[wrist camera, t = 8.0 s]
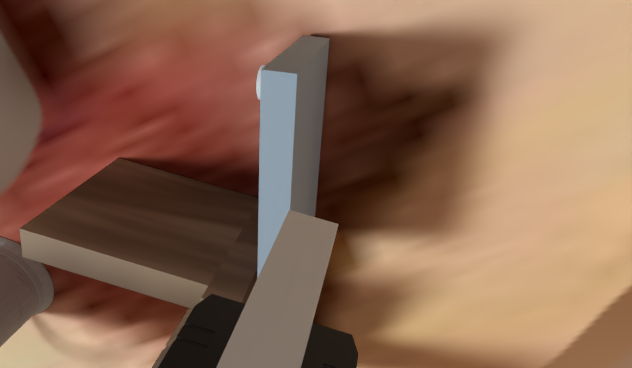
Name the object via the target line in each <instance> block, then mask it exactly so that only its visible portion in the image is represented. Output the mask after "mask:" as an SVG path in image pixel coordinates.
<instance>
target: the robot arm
mask: <svg viewBox="0 0 632 368" xmlns="http://www.w3.org/2000/svg"><path fill="white" fill-rule="evenodd" d="M338 225H339V224H337V223H333V222H330V221H326V220H323V219H319V218H316V217H312V216H309V215H305V214H302V213H299V212H295V211H292V210H289V211H288V214H287V216H286V218H285V220H284V222H283V224H282V227H281V229H280V231H279V233H278V235H277V237H276V240H275V242H274V244H273V246H272V248H271V250H270V253H269V255H268V257H267V259H266V261H265V263H264V266H263V268H262V270H261V272H260V274H259V276H258V278H257V281H256V283H255V285H254V287H253V289H252V291H251V294H250V296H249V298H248V300H247V302H246V304H244V303H241V302H237V301H234V300H231V299H228V298H224V297H221V296H218V295H214V294H211V295H209V296H208V297H206V298H205V299H204V300H202V301H201V302H199V303H198V304H197V305H195V306H194V308H193V310H192V312H191V313H190V315H189V317H188V318H187V320H186V322H185V324H184V326H183V327H182V328H181V330H180V332H179V333H178V335H177V337H176V340H174V342H173V343H172V345H171V347H170V348H169V350H168V352H167V353H166V355H165V357H164V358H163V360H162V362H161V363H160V365H159V367H158V368H356V367H357V359H358V352H357V349H356V346H355V343H354V339H353V336H352V335H351V334H348V333H344V332H341V331H338V330H334V329H331V328H328V327H324V326H321V325H318V324H315V323H313V320H314V316H315V312H316V308H317V304H318V301H319V297H320V293H321V289H322V285H323V282H324V278H325V274H326V270H327V267H328V263H329V259H330V255H331V251H332V248H333V244H334V240H335V236H336V232H337V229H338Z"/></svg>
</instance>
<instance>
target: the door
mask: <svg viewBox="0 0 632 368" xmlns="http://www.w3.org/2000/svg"><path fill="white" fill-rule="evenodd" d="M329 41H330V38H323V37H314V36H304V35H303V36H302V37H301V38H299V39H298V40H297V41H296V42H295V43H293V44H292V45H291V46H290V47H288V48H287V49H286V50H285V51H283V52H282V53H281V54H280V55H278V56H277V57H276V58H275V59H273V60H272V61H271V62H270V63H268V64H267V65H262V66H261V67H260V69H259V72H258V76H257V84H256V91H257V97H258V99H260V150H259V209H258V267H257V278H258V276H259V274H260V272H261V270H262V268H263V266H264V263H265V261H266V259H267V257H268V255H269V253H270V250H271V248H272V246H273V244H274V242H275V240H276V237H277V235H278V233H279V231H280V229H281V227H282V224H283V222H284V220H285V218H286V216H287V214H288V211H289V210H292V211H295V212H299V213H302V214H305V215H309V216H312V217H315V213H316V200H317V188H318V176H319V164H320V151H321V139H322V127H323V114H324V102H325V90H326V78H327V65H328V53H329Z"/></svg>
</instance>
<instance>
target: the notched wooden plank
mask: <svg viewBox="0 0 632 368" xmlns="http://www.w3.org/2000/svg"><path fill="white" fill-rule="evenodd" d="M258 209H259V198H256V197H253V196H249V195H246V194H242V193H239V192H235V191H232V190H229V189H225V188H222V187H218V186H215V185H211V184H208V183H204V182H201V181H197V180H194V179H191V178H187V177H184V176H180V175H177V174H173V173H170V172H166V171H163V170H159V169H156V168H153V167H149V166H146V165H142V164H139V163H135V162H132V161H128V160H125V159H121V158H118V159H116V160H115V161H113V162H112V163H111V164H109V165H108V166H106V167H105V168H104V169H102V170H101V171H99V172H98V173H97V174H95V175H94V176H92V177H91V178H90V179H88V180H87V181H85V182H84V183H83V184H81V185H80V186H78V187H77V188H76V189H74V190H73V191H71V192H70V193H69V194H67V195H66V196H64V197H63V198H62V199H60V200H59V201H57V202H56V203H55V204H53V205H52V206H50V207H49V208H48V209H46V210H45V211H44V212H42V213H41V214H39V215H38V216H37V217H35V218H34V219H32V220H31V221H30V222H28V223H27V224H25V225H24V226H23V227H21V228H20V237H21V247H22V257H24V258H28V259H31V260H34V261H37V262H41V263H44V264H47V265H50V266H54V267H57V268H60V269H63V270H67V271H70V272H73V273H76V274H80V275H83V276H86V277H90V278H93V279H96V280H99V281H103V282H106V283H109V284H112V285H116V286H119V287H122V288H125V289H129V290H132V291H135V292H138V293H142V294H145V295H148V296H151V297H155V298H158V299H161V300H165V301H168V302H171V303H174V304H178V305H181V306H184V307H187V308H191V309H193V308H194V306H195V305H197V304H198V303H199V302H201V301H202V300H204V299H205V298H206V297H208V296H209V295H211V294H214V295H218V296H221V297H224V298H228V299H231V300H234V301H237V302H241V303H244V304H246V302H247V300H248V298H249V296H250V294H251V291H252V289H253V287H254V285H255V283H256V281H257V267H258Z"/></svg>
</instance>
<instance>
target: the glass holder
mask: <svg viewBox="0 0 632 368" xmlns="http://www.w3.org/2000/svg"><path fill="white" fill-rule="evenodd" d="M53 297H54V286H53V282H52V279H51V277H50V275H49V273H48V271H47V270H46V268H45V266H44V265H43V264H42V263H41V262H37V261H34V260H31V259H28V258H24V257H22V247H21V245H20V244H18V243H16V242H14V241H12V240H10V239H7V238H4V237H0V347H1V346H2V345H3V344H4V343H5V342H6V341H7V340H8V339H9V338H10V337H11V336H12V335H13V334H14V333H15V332H16V331H17V330H18V329H19V328H20V327H21V326H22V325H23V324H24V323H25V322H26V321H27V320H28V319H30V318H31V317H32V316H33V315H36V314H38V313H41V312H43V311H44V310H46V309H47V308H48V307H49V306H50V305H51V303H52V301H53Z"/></svg>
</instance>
